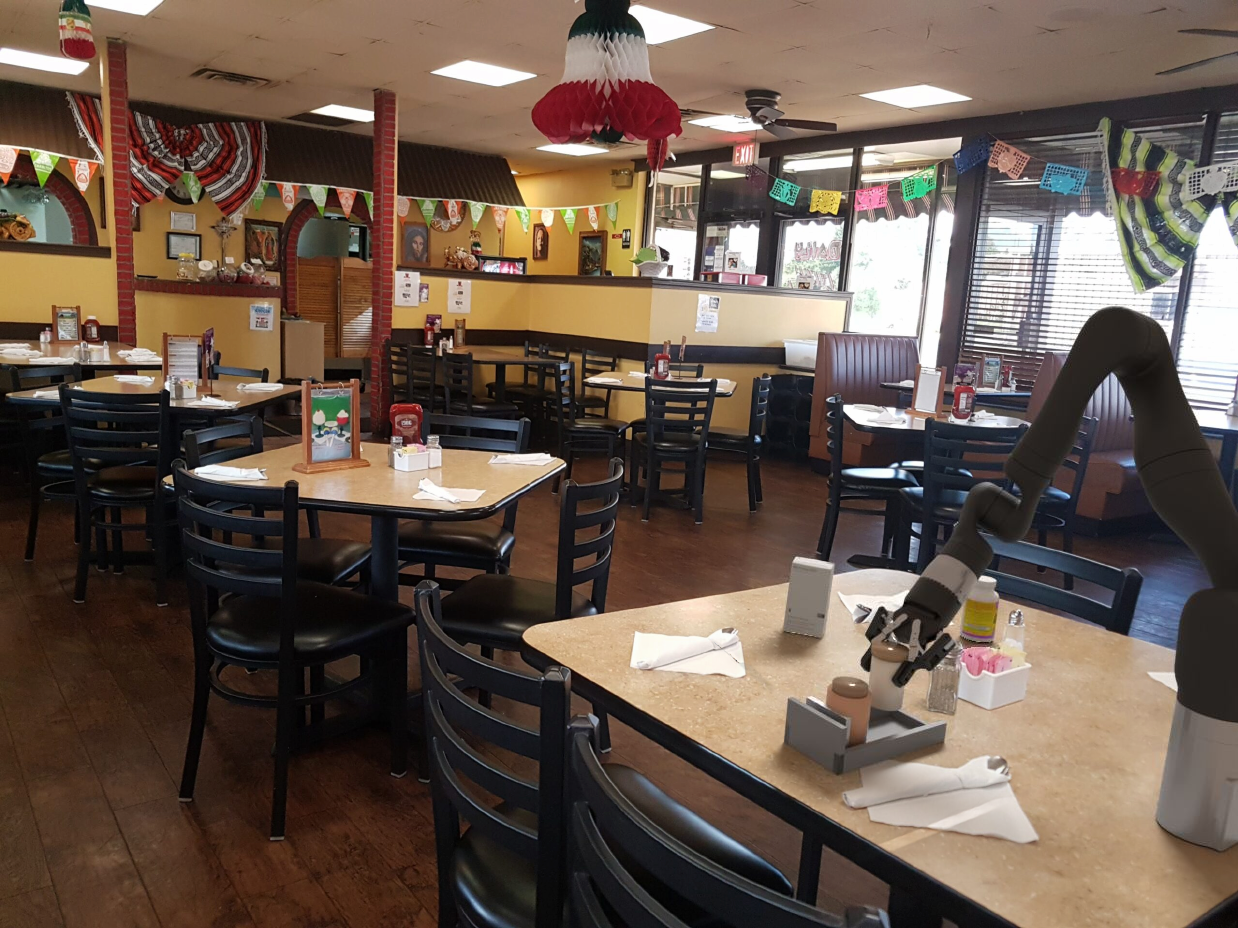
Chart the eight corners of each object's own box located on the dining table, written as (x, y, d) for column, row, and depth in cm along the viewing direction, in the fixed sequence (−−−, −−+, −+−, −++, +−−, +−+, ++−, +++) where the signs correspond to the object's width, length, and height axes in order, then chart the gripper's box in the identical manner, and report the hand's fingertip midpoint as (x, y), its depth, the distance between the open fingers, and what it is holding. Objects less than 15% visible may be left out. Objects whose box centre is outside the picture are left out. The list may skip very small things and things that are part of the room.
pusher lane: (943, 746, 142) (949, 698, 141) (836, 781, 130) (842, 728, 128) (888, 717, 151) (893, 671, 150) (783, 747, 139) (787, 697, 137)
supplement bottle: (996, 645, 187) (1004, 585, 185) (962, 641, 189) (970, 581, 186) (990, 634, 194) (998, 575, 191) (957, 630, 195) (964, 572, 193)
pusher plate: (846, 763, 132) (851, 717, 131) (836, 766, 131) (841, 720, 130) (807, 739, 139) (811, 695, 138) (797, 742, 138) (801, 698, 137)
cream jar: (911, 706, 140) (918, 651, 139) (886, 714, 137) (892, 657, 136) (882, 692, 145) (889, 638, 143) (857, 699, 142) (863, 644, 140)
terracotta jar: (874, 752, 137) (882, 687, 135) (844, 762, 133) (851, 695, 132) (842, 734, 142) (849, 671, 140) (812, 743, 139) (819, 679, 137)
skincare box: (782, 632, 188) (789, 562, 185) (787, 623, 194) (794, 554, 191) (824, 639, 185) (831, 568, 183) (828, 630, 191) (835, 560, 188)
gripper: (895, 563, 148) (834, 646, 143) (971, 590, 136) (907, 681, 132) (913, 591, 151) (854, 672, 147) (989, 619, 140) (927, 708, 135)
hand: (879, 676), depth 139 cm, fingers closed on cream jar, 5 cm apart
